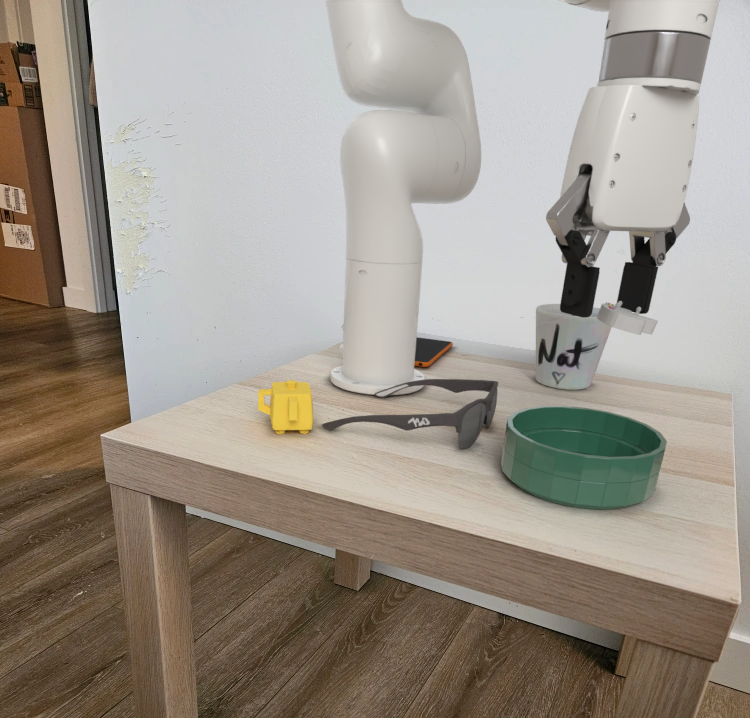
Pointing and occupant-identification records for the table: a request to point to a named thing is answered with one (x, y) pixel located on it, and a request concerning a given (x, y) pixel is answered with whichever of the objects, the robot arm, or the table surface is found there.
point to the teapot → (288, 406)
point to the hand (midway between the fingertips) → (604, 310)
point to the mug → (568, 347)
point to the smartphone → (429, 350)
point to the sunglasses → (463, 419)
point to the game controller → (625, 319)
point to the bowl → (582, 456)
